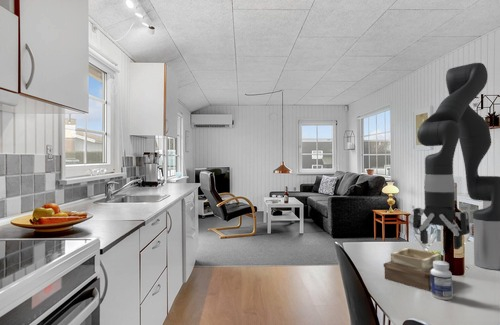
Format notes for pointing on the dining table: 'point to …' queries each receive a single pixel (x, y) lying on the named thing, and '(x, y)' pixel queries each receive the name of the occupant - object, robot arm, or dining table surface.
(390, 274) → the box
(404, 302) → the dining table surface
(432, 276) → the pill bottle
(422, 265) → the top crate
